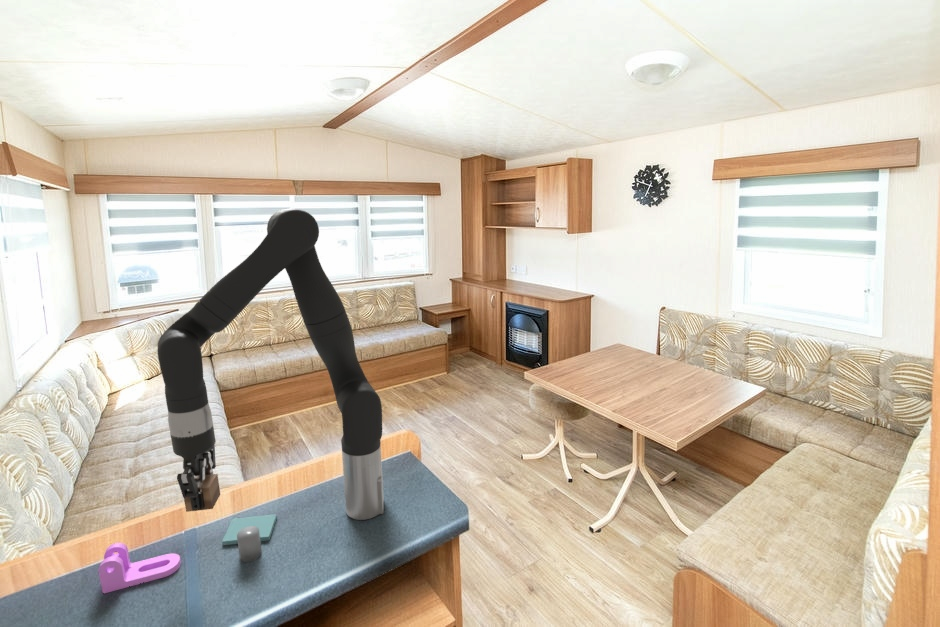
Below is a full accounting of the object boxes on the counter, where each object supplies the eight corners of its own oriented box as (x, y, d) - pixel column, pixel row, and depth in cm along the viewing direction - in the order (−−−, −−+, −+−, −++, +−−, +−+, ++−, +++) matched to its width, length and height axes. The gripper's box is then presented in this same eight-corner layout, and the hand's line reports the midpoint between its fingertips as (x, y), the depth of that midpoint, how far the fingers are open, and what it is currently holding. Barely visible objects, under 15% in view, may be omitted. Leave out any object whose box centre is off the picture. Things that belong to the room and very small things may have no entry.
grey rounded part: (263, 546, 108) (261, 525, 106) (258, 560, 104) (256, 538, 102) (242, 548, 107) (240, 527, 106) (237, 563, 103) (234, 541, 101)
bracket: (103, 594, 95) (96, 564, 93) (110, 574, 100) (104, 545, 98) (179, 573, 100) (174, 544, 98) (182, 555, 105) (177, 528, 103)
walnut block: (220, 494, 103) (217, 473, 102) (212, 508, 99) (209, 487, 97) (195, 496, 103) (191, 476, 101) (186, 511, 98) (182, 490, 97)
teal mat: (276, 517, 117) (276, 514, 117) (269, 540, 110) (269, 536, 109) (233, 522, 116) (232, 518, 115) (222, 545, 108) (221, 541, 108)
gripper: (198, 442, 90) (211, 521, 94) (223, 409, 104) (233, 479, 108) (155, 446, 89) (169, 525, 93) (185, 412, 103) (197, 483, 107)
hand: (203, 500), depth 101 cm, fingers closed on walnut block, 5 cm apart
